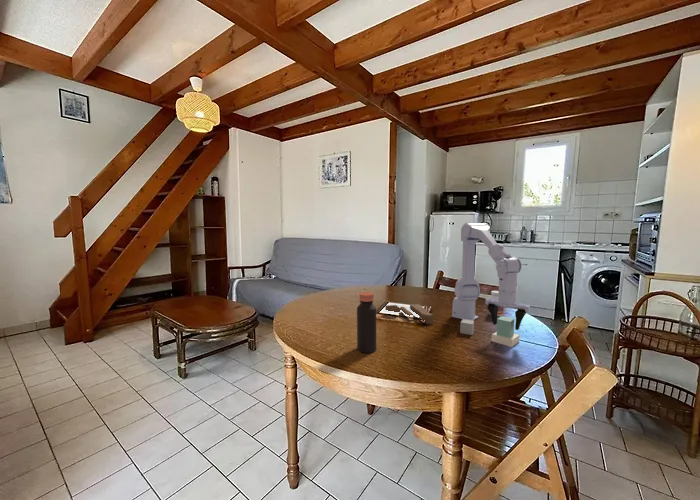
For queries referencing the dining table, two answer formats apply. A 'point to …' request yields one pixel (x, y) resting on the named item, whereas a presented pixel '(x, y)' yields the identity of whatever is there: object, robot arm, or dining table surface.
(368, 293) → the vinegar
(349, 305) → the dining table surface
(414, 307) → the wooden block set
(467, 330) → the grey block
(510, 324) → the teal block
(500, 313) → the pill bottle
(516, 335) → the cream slab
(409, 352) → the dining table surface
